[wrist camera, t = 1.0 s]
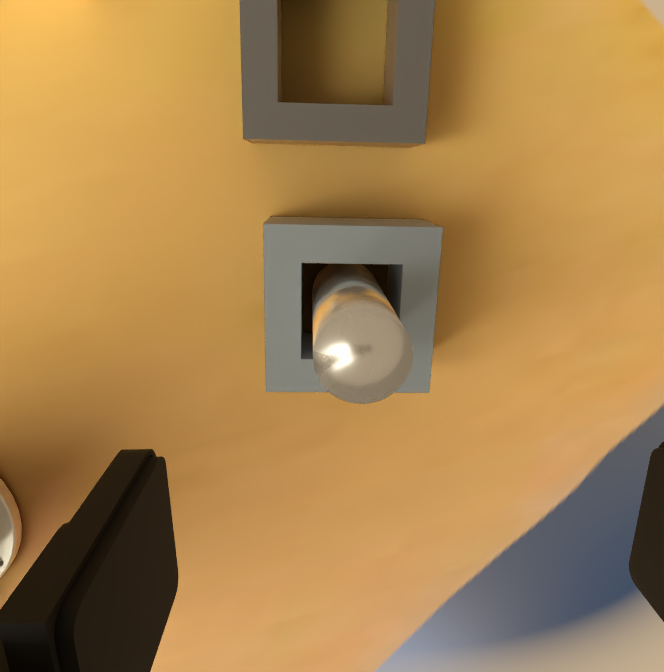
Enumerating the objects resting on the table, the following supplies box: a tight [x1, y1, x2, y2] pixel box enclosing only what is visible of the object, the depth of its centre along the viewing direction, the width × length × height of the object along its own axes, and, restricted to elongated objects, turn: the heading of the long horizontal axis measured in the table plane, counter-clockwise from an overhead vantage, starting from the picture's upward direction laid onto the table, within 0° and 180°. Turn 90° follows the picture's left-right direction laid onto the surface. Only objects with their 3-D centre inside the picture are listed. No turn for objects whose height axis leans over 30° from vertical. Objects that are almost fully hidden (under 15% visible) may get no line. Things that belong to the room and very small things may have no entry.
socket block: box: [263, 216, 443, 393], centre depth 30 cm, size 9×9×5 cm
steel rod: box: [313, 263, 413, 404], centre depth 27 cm, size 4×4×12 cm
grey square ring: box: [240, 0, 435, 147], centre depth 27 cm, size 9×9×4 cm
